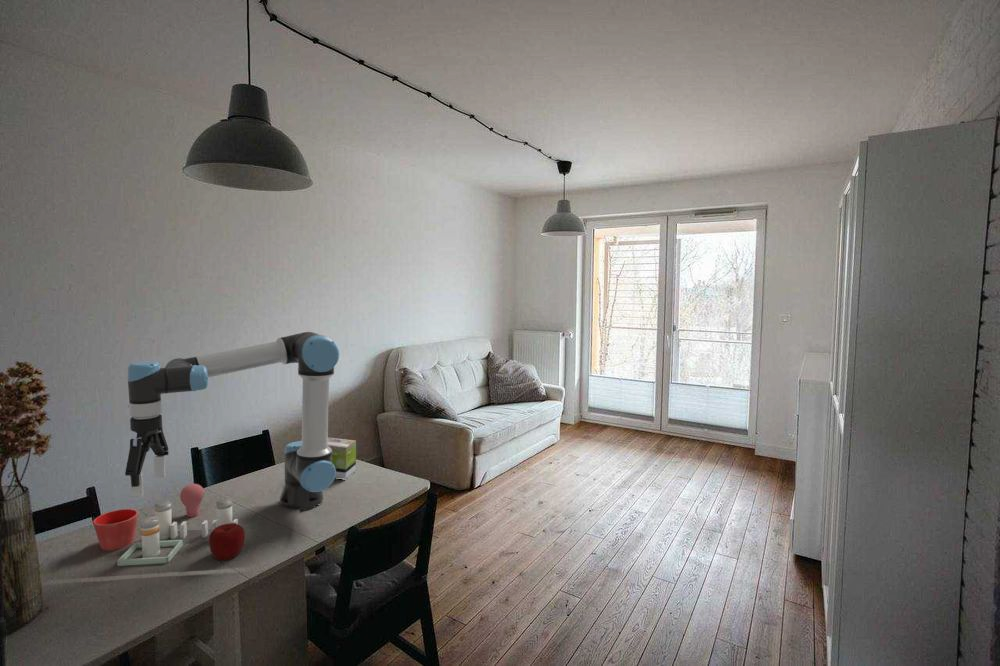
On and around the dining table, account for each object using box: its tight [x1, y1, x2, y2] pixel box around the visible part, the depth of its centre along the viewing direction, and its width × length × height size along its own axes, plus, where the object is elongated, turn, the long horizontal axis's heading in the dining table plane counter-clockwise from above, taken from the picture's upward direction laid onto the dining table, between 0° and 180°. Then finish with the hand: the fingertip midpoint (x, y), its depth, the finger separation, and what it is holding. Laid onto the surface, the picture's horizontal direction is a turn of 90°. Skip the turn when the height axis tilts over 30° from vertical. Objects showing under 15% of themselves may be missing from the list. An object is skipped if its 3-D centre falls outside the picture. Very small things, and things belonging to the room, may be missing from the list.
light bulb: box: [179, 483, 205, 518], centre depth 176 cm, size 7×7×12 cm
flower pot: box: [92, 508, 139, 551], centre depth 157 cm, size 11×11×10 cm
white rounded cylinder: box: [215, 498, 234, 527], centre depth 164 cm, size 4×4×11 cm
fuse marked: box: [139, 516, 161, 558], centre depth 152 cm, size 5×5×11 cm
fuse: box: [153, 500, 173, 541], centre depth 161 cm, size 4×4×11 cm
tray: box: [116, 540, 184, 567], centre depth 152 cm, size 13×10×2 cm
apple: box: [208, 523, 246, 561], centre depth 153 cm, size 10×10×10 cm
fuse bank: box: [165, 518, 239, 544], centre depth 163 cm, size 27×8×6 cm, turn 101°
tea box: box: [328, 436, 357, 478], centre depth 218 cm, size 15×10×15 cm, turn 80°
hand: (149, 486), depth 150 cm, fingers open, 13 cm apart
